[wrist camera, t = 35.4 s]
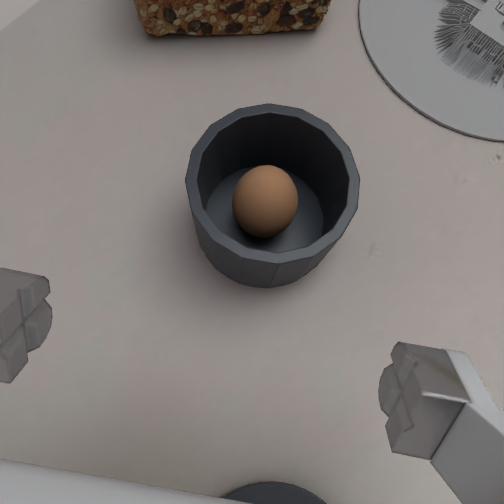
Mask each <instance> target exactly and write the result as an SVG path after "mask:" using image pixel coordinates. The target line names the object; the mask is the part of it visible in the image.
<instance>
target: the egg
mask: <svg viewBox="0 0 504 504" xmlns="http://www.w3.org/2000/svg"><path fill="white" fill-rule="evenodd" d="M297 205H298V194H297V190H296V187H295V185H294V183H293V181H292V179H291V178H290V177H289V175H288V174H287V173H286V172H284V171H283V170H282V169H280V168H277V167H275V166H271V165H264V166H258V167H256V168H253V169H251V170H250V171H248V172H247V173H246V174H245V175H243V176H242V177H241V178H240V180H239V181H238V183H237V185H236V187H235V189H234V193H233V198H232V210H233V214H234V217H235V219H236V221H237V223H238V224H239V226H240V227H241V228H242V229H243V230H244V231H246V232H247V233H249V234H251V235H253V236H256V237H263V238H266V237H271V236H275V235H277V234H279V233H281V232H282V231H284V230H285V229H286V228H287V227H288V226H289V224H290V223H291V222H292V220H293V219H294V216H295V214H296V210H297Z"/></svg>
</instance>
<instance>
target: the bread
mask: <svg viewBox="0 0 504 504" xmlns="http://www.w3.org/2000/svg"><path fill="white" fill-rule="evenodd" d="M134 1H135V6H136V9H137V11H138V18H139V20H140V21H141V23H142V25H143V27H144V29H145V32H146V33H148V34H153V35H156V36H158V37H160V36H162V35H164V34H168V33H177V34H186V33H187V34H188V35H204V34H205V35H207V36H209V35H227V34H246V35H247V34H264V33H267V32H272V31H273V32H279V31H281V30H284V31H289V30H292V29H306V30H309V29H313V28H316V27H318V26H319V25H320V24H321V22H322V20H323V17H324V14H327V11H328V6H330V1H331V0H134Z"/></svg>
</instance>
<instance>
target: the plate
mask: <svg viewBox="0 0 504 504" xmlns="http://www.w3.org/2000/svg"><path fill="white" fill-rule="evenodd" d="M359 23H360V31H361V35H362V38H363V42H364V45H365V48H366V51H367V53H368V55H369V57H370V59H371V61H372V63H373V64H374V66H375V68H376V69H377V71H378V73H379V74H380V75H381V76H382V78H383V79H384V80H385V82H386V83H387V84H388V85H389V86H390V87H391V89H392V90H393V91H394V92H395V93H396V94H397V95H398V96H399V97H401V98H402V99H403V100H404V101H405V102H406V103H408V104H409V105H410V106H411V107H413V108H414V109H415V110H417V111H418V112H420V113H421V114H423V115H424V116H426V117H427V118H429V119H431V120H433V121H435V122H436V123H438V124H440V125H442V126H445V127H447V128H449V129H452V130H454V131H457V132H460V133H463V134H465V135H469V136H473V137H477V138H481V139H486V140H492V141H502V142H504V0H360V3H359Z"/></svg>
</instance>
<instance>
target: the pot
mask: <svg viewBox="0 0 504 504" xmlns="http://www.w3.org/2000/svg"><path fill="white" fill-rule="evenodd" d="M264 165H271V166H275V167H277V168H280V169H282V170H283V171H284V172H286V173H287V174H288V175H289V177H290V178H291V179H292V181H293V183H294V185H295V187H296V190H297V194H298V205H297V210H296V214H295V216H294V219H293V220H292V222H291V223H290V224H289V226H288V227H287V228H286V229H285V230H284V231H282V232H281V233H279V234H277V235H275V236H271V237H266V238H263V237H256V236H253V235H251V234H249V233H247V232H246V231H244V230H243V229H242V228H241V227H240V226H239V224H238V223H237V221H236V219H235V217H234V214H233V210H232V198H233V193H234V189H235V187H236V185H237V183H238V181H239V180H240V178H241V177H242V176H243V175H245V174H246V173H247V172H248V171H250V170H251V169H253V168H256V167H258V166H264ZM185 184H186V188H187V193H188V197H189V202H190V207H191V211H192V215H193V220H194V224H195V228H196V232H197V236H198V240H199V244H200V247H201V248H202V250H203V251H204V253H205V255H206V256H207V258H208V259H209V260H210V262H211V263H212V264H213V265H214V266H215V268H216V269H218V270H219V271H220V272H221V273H223V274H224V275H226V276H227V277H229V278H231V279H232V280H234V281H236V282H239V283H242V284H244V285H248V286H253V287H262V288H270V287H277V286H282V285H286V284H289V283H291V282H295V281H297V280H298V279H300V278H301V277H303V276H304V275H306V274H307V273H308V272H309V271H311V270H312V269H313V268H315V267H316V266H317V265H318V264H319V263H320V262H321V260H322V259H323V258H324V257H325V256H326V254H327V253H328V252H329V251H330V250H331V248H332V247H333V246H334V245H335V244H336V243H337V241H338V240H339V239H340V238H341V237H342V235H343V233H344V232H345V230H346V228H347V226H348V225H349V223H350V221H351V219H352V218H353V216H354V214H355V212H356V211H357V208H358V197H359V186H360V176H359V173H358V170H357V168H356V165H355V162H354V159H353V156H352V153H351V150H350V149H349V147H348V145H347V144H346V143H345V142H344V141H343V140H342V139H341V137H340V136H339V135H338V134H337V133H336V132H335V130H334V129H333V128H332V127H331V126H330V125H329V124H328V123H326V122H325V121H323V120H321V119H319V118H317V117H315V116H314V115H312V114H310V113H308V112H306V111H305V110H303V109H300V108H294V107H288V106H282V105H276V104H262V105H257V106H251V107H245V108H240V109H238V110H235V111H233V112H232V113H230V114H228V115H227V116H225V117H223V118H222V119H220V120H218V121H217V122H215V123H213V124H211V125H210V126H209V128H208V129H207V130H206V132H205V133H204V134H203V136H202V137H201V138H200V140H199V141H198V142H197V144H196V145H195V146H194V148H193V149H192V151H191V155H190V160H189V164H188V169H187V173H186V178H185Z"/></svg>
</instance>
